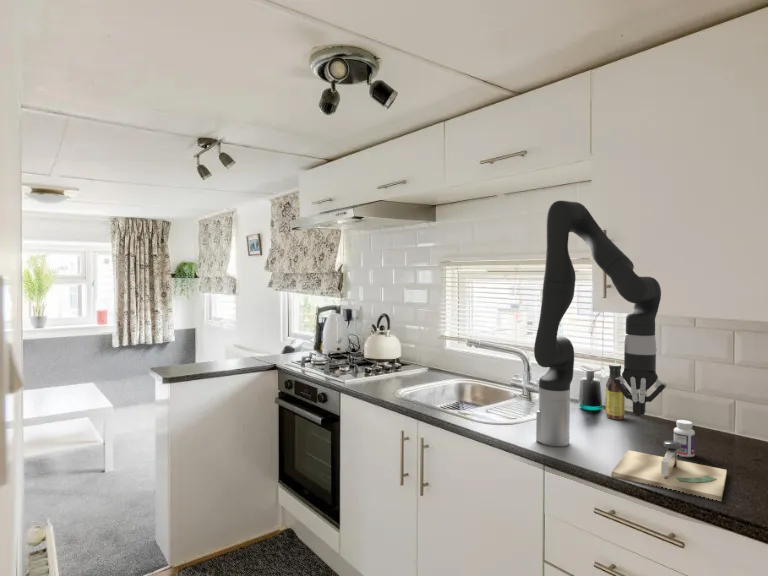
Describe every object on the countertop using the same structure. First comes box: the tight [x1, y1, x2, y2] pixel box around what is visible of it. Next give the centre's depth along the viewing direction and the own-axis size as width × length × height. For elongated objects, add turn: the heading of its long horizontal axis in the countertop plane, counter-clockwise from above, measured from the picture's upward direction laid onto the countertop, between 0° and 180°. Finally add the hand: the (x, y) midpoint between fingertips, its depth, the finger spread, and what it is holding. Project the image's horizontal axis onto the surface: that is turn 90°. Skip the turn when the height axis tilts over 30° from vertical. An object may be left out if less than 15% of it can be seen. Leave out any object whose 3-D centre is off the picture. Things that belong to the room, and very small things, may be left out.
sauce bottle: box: [605, 363, 626, 421], centre depth 184 cm, size 6×6×20 cm
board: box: [611, 449, 728, 503], centre depth 132 cm, size 24×20×1 cm
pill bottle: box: [673, 419, 696, 458], centre depth 147 cm, size 5×5×10 cm
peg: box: [661, 440, 681, 476], centre depth 131 cm, size 14×4×6 cm, turn 143°
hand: (639, 415), depth 134 cm, fingers closed
